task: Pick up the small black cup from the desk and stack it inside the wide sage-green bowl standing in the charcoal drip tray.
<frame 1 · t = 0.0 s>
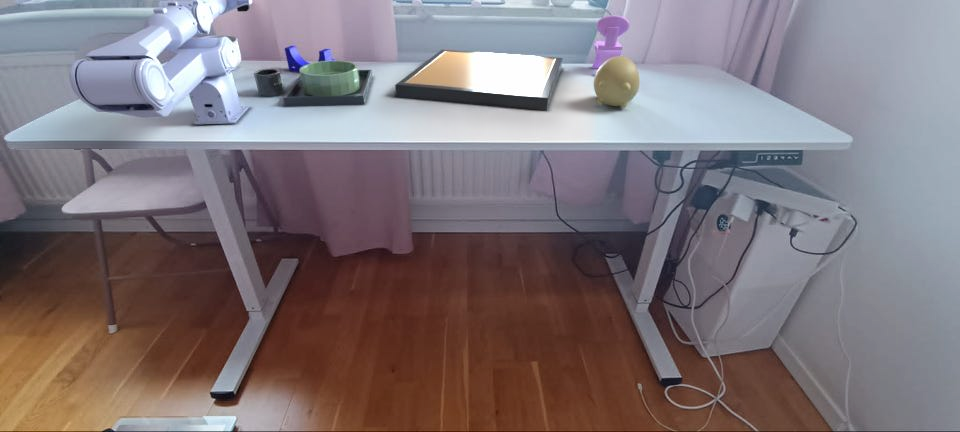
teacup: (217, 70, 126), on the table
toy pig: (612, 105, 105), on the table
sage bowl: (330, 79, 110), in the drip tray
black cup: (271, 93, 109), on the table
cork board: (486, 82, 119), on the table
purple tall piece: (604, 72, 127), on the table
blue curved stand: (313, 71, 126), on the table
drip tray: (332, 90, 111), on the table
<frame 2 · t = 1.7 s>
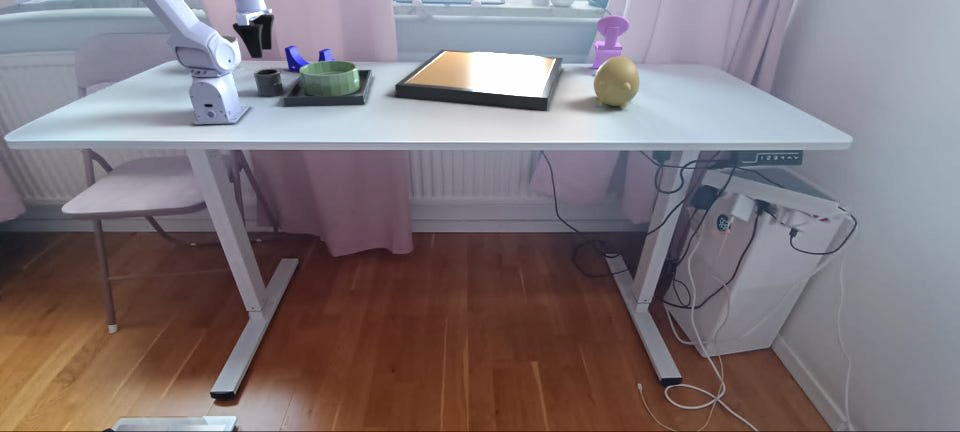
hand: (262, 53, 104), 9 cm above the table, tool pointing down, fingers open, 7 cm apart
nothing on the table moved.
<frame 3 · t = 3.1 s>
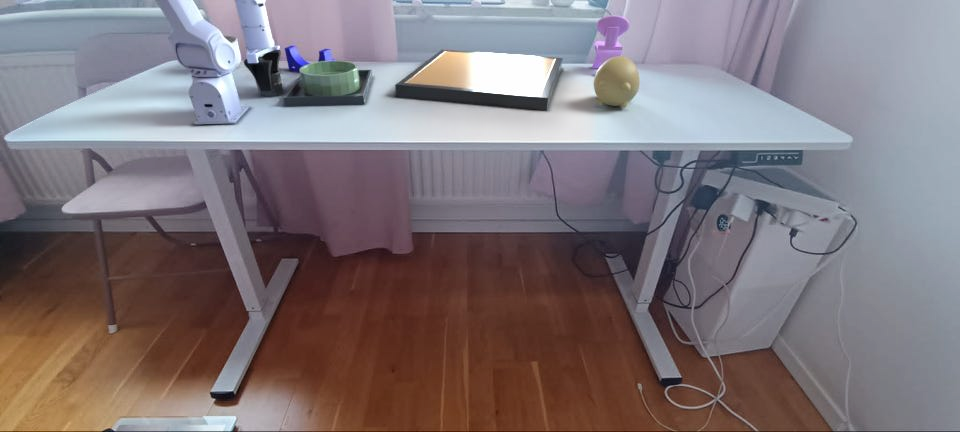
hand: (270, 86, 108), 2 cm above the table, tool pointing down, fingers closed on black cup, 5 cm apart
black cup: (271, 93, 109), on the table, touching gripper
everything else where it was.
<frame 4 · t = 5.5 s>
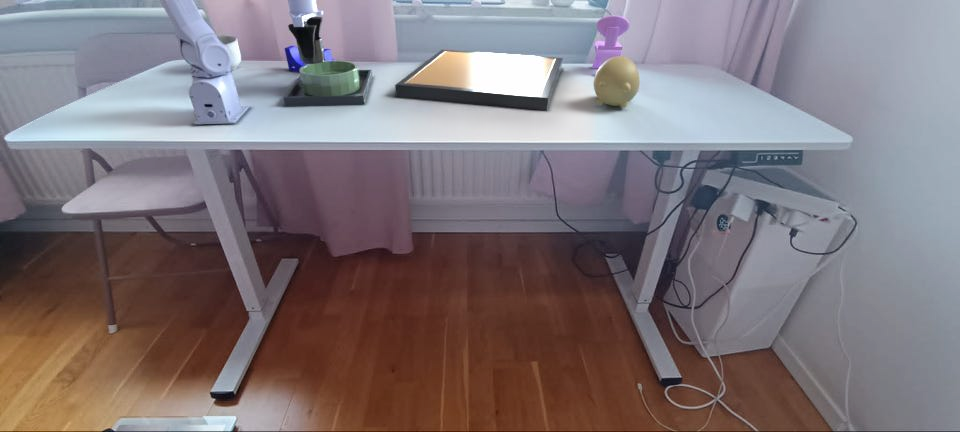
hand: (311, 54, 106), 9 cm above the table, tool pointing down, fingers closed on black cup, 5 cm apart
black cup: (313, 61, 107), point 7 cm above the table, touching gripper
everything else where it was.
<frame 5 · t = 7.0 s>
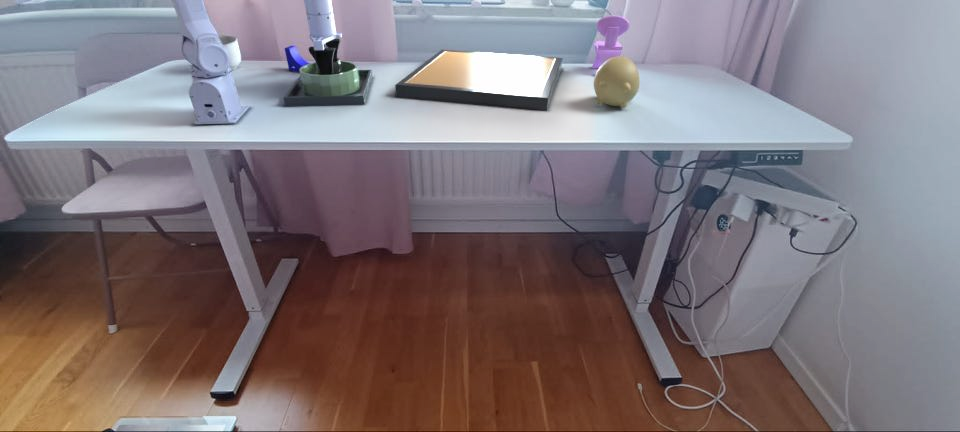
hand: (330, 74, 109), 4 cm above the table, tool pointing down, fingers closed on black cup, 5 cm apart
black cup: (331, 81, 110), point 2 cm above the table, touching gripper
everything else where it was.
when the fingers open (2 cm above the table, at t = 8.1 s): black cup stays where it is, resting on sage bowl.
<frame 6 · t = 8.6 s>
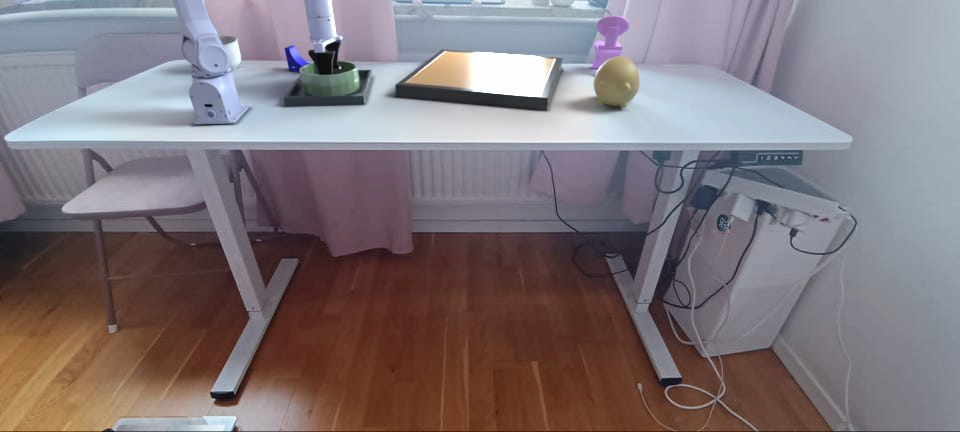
hand: (330, 76, 109), 3 cm above the table, tool pointing down, fingers open, 7 cm apart
black cup: (332, 88, 111), point 1 cm above the table, touching sage bowl
everything else where it was.
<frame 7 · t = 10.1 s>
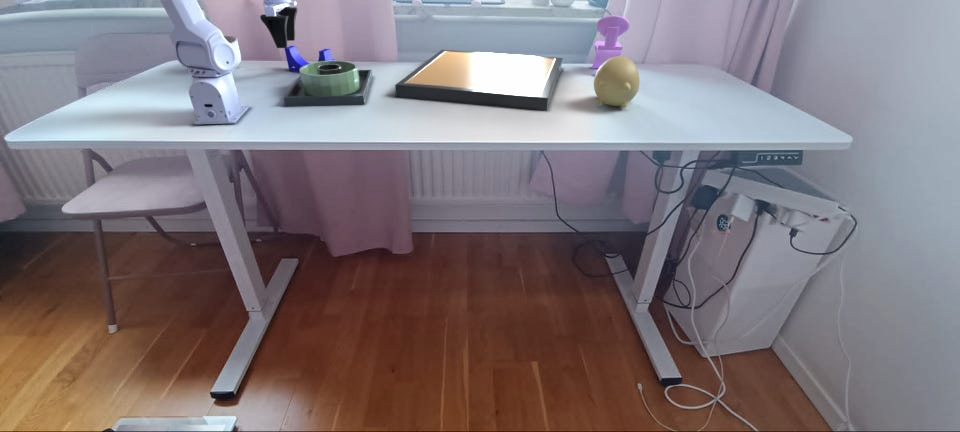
hand: (286, 44, 109), 10 cm above the table, tool pointing down, fingers open, 7 cm apart
nothing on the table moved.
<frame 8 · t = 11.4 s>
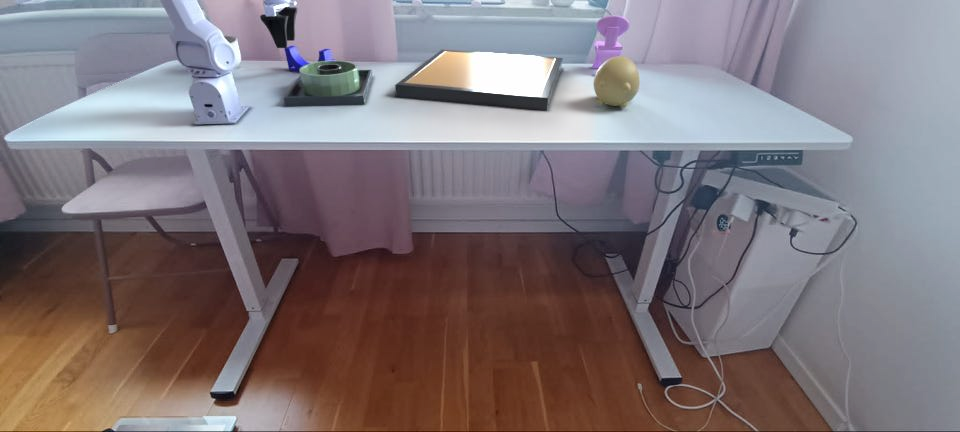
hand: (286, 44, 109), 10 cm above the table, tool pointing down, fingers open, 7 cm apart
nothing on the table moved.
at the end: black cup 0.1 cm off-centre in the sage bowl, point 0.6 cm above the sage bowl's base; black cup tilted 0°; the gripper is holding nothing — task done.
